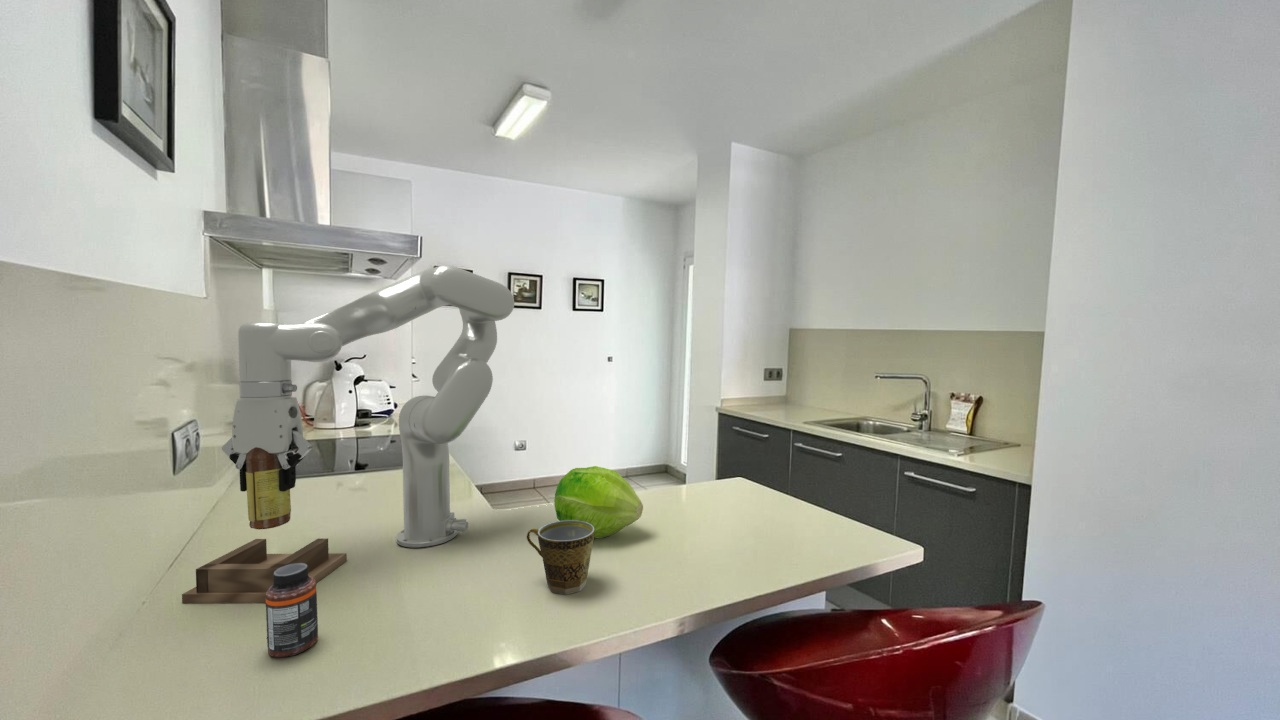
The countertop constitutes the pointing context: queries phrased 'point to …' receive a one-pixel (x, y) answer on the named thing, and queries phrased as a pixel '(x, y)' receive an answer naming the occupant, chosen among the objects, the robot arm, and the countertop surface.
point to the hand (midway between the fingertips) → (268, 488)
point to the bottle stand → (256, 572)
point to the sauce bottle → (265, 491)
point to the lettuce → (597, 500)
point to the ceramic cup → (565, 554)
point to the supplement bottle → (291, 611)
